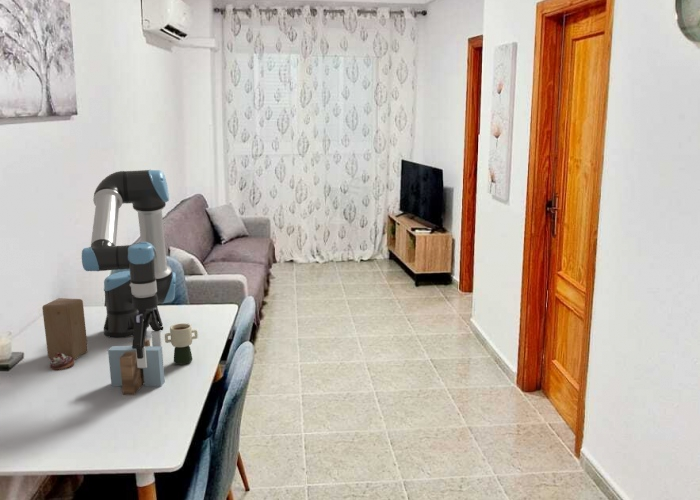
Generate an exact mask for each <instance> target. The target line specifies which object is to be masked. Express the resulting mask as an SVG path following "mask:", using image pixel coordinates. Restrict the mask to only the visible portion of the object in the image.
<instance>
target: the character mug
mask: <svg viewBox="0 0 700 500" xmlns="http://www.w3.org/2000/svg"><path fill="white" fill-rule="evenodd" d="M193 333H194V335H193ZM198 335H199V334H198V330H197V329H192V324H189V323H175V324H173V325H171V326H170V327H169V332H168V333H164V341H165V343H166V344H168V343H170V344H171V346H172V347H174V350H173V363H175V364H177V365H185V364H186V365H187V364H189V363H191V362H192V361H193V356H192V355H193V354H192V350H191V345H192V344H193V340H196V339H198ZM169 337H170V339H169Z"/></svg>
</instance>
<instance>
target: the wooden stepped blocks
mask: <svg viewBox="0 0 700 500" xmlns="http://www.w3.org/2000/svg"><path fill="white" fill-rule="evenodd" d="M150 343H151V340H150V339H148V338H147V339H146V338H145V343H144V346H151V344H150ZM120 367H121V378H122V386H121V387H122V395H123V396H126V395H127V396H128V395H132V396H133V395H136V393H137V392H138V391H140V389H141V388H142V387H143V385H145V383H144V371H143V368H137V357H136V352H132V351H126V352H125V353H124V354H123V355H122V356H121V357H120Z"/></svg>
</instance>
